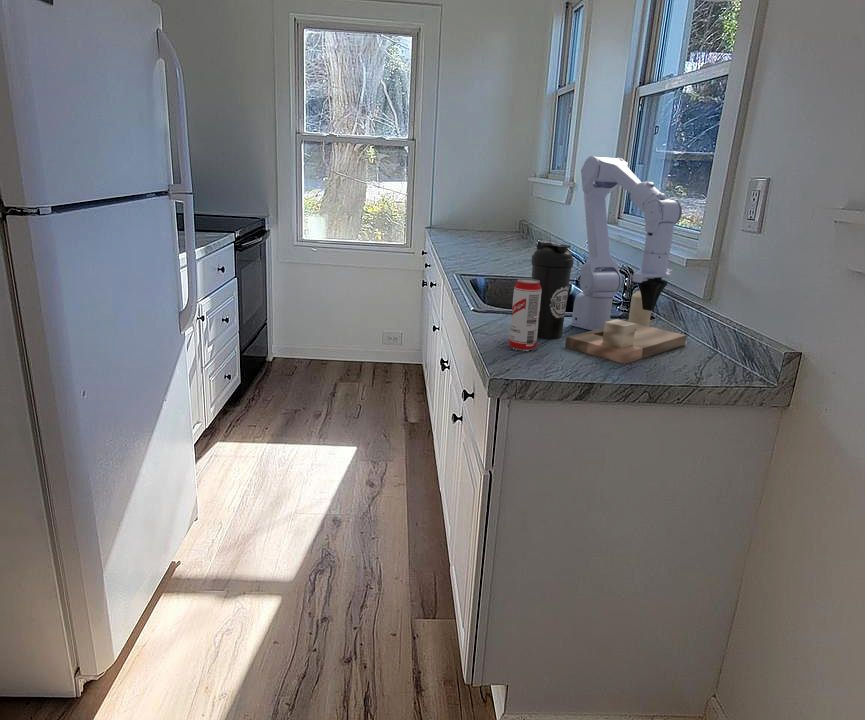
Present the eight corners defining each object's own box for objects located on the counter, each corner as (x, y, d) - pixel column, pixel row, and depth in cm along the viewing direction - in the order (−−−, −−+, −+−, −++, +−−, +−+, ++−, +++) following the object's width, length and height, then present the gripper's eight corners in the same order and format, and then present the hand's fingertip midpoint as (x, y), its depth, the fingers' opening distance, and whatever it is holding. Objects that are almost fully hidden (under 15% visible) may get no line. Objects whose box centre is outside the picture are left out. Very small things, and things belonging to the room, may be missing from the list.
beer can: (518, 353, 148) (525, 283, 143) (503, 346, 153) (509, 278, 148) (541, 351, 150) (548, 282, 146) (525, 343, 156) (531, 277, 151)
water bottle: (547, 342, 158) (557, 247, 151) (516, 332, 165) (524, 241, 159) (573, 336, 165) (584, 245, 158) (541, 327, 172) (550, 240, 165)
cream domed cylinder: (649, 330, 176) (655, 293, 173) (628, 328, 177) (633, 291, 174) (647, 325, 181) (652, 290, 178) (626, 323, 182) (631, 288, 179)
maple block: (602, 343, 150) (604, 321, 149) (614, 339, 154) (616, 319, 152) (621, 348, 147) (624, 326, 145) (632, 344, 150) (636, 323, 149)
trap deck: (565, 347, 155) (566, 336, 154) (627, 331, 173) (629, 321, 173) (624, 363, 144) (626, 353, 143) (684, 344, 162) (686, 335, 162)
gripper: (656, 256, 144) (647, 316, 148) (688, 253, 153) (678, 309, 157) (628, 252, 149) (619, 310, 153) (660, 249, 158) (652, 304, 162)
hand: (647, 309), depth 155 cm, fingers closed
